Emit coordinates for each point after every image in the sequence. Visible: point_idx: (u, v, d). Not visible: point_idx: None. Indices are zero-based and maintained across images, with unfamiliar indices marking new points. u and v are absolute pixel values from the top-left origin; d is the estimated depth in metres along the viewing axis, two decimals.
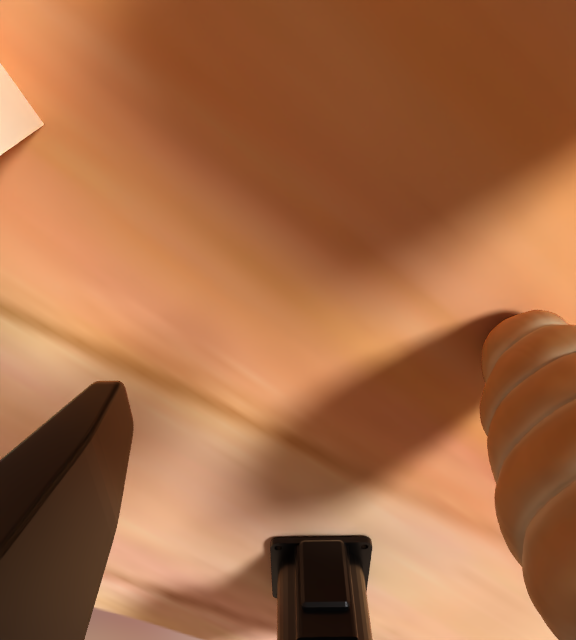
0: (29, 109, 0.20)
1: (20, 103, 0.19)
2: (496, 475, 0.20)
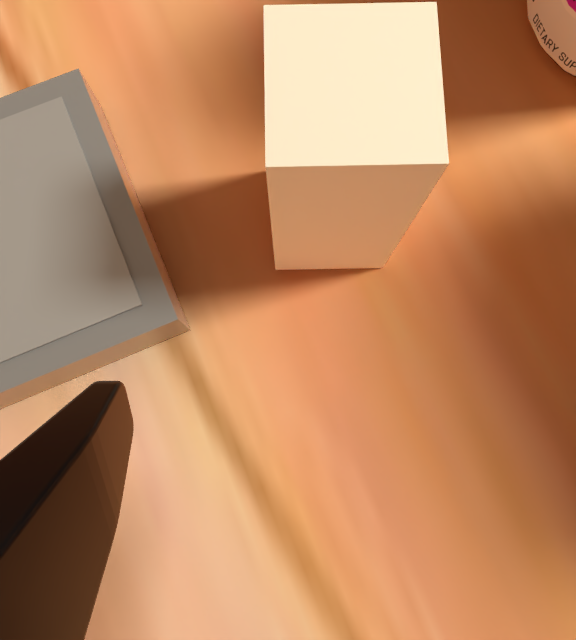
0: None
1: None
2: None
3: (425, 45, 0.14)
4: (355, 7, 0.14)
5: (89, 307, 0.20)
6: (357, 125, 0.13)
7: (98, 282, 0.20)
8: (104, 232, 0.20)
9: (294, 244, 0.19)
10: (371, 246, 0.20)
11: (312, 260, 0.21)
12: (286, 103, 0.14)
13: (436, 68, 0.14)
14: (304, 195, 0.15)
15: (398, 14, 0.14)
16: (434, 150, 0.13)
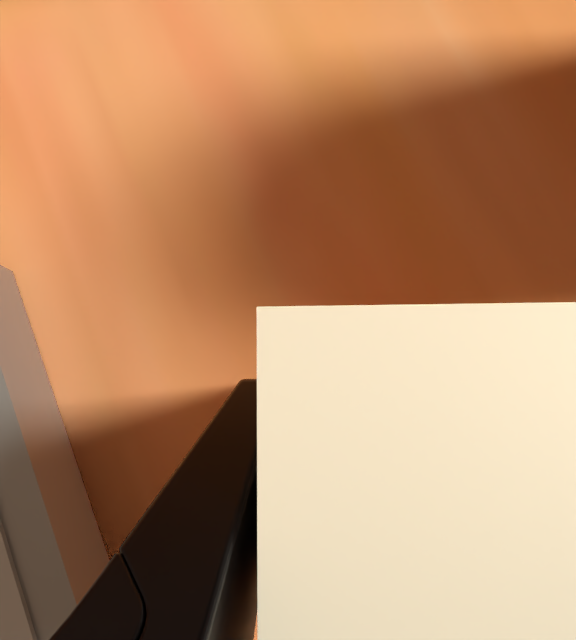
0: None
1: None
2: None
3: None
4: (477, 306, 0.06)
5: None
6: None
7: None
8: None
9: None
10: None
11: None
12: (313, 590, 0.05)
13: None
14: None
15: None
16: None
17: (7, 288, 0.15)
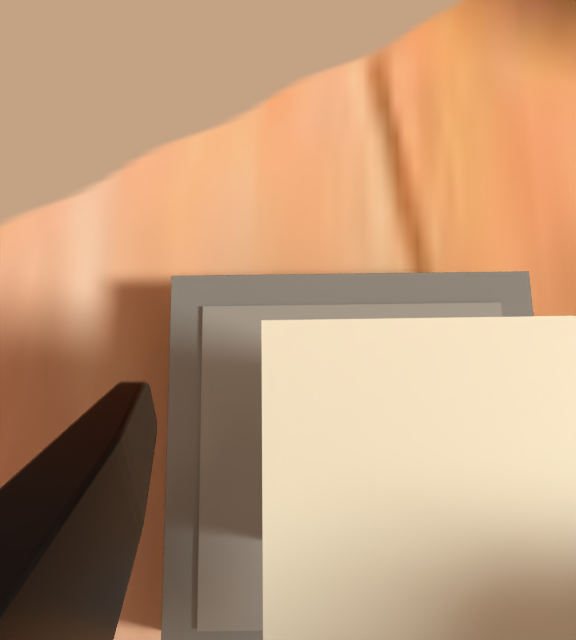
0: None
1: None
2: None
3: None
4: (456, 320, 0.07)
5: None
6: (474, 626, 0.06)
7: None
8: None
9: None
10: None
11: None
12: (310, 567, 0.06)
13: None
14: None
15: (552, 345, 0.06)
16: None
17: None
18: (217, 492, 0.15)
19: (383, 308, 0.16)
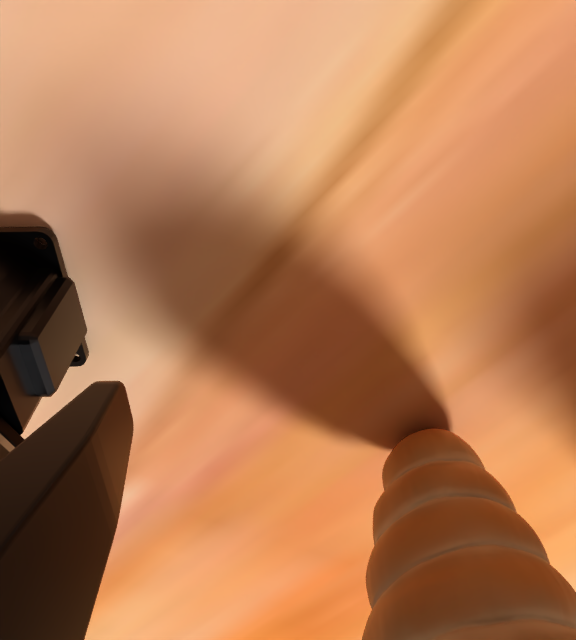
0: None
1: None
2: (464, 541, 0.19)
3: None
4: None
5: None
6: None
7: None
8: None
9: None
10: None
11: None
12: None
13: None
14: None
15: None
16: None
17: None
18: None
19: None
